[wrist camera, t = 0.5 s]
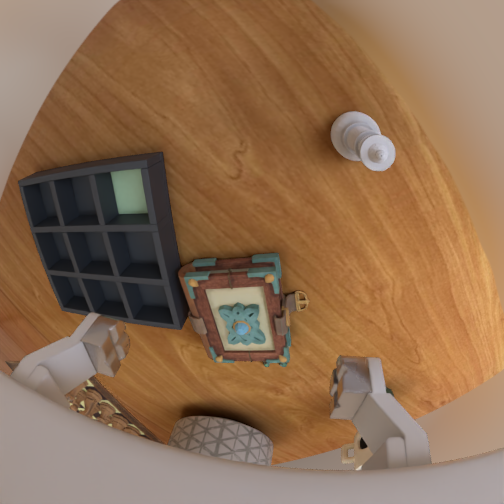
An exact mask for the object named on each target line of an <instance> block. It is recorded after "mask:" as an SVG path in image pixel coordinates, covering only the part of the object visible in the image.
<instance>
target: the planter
mask: <svg viewBox="0 0 504 504" xmlns="http://www.w3.org/2000/svg"><path fill="white" fill-rule="evenodd" d="M167 445H168V446H171V447H175V448H179V449H183V450H187V451H191V452H195V453H199V454H203V455H208V456H213V457H218V458H223V459H228V460H234V461H239V462H246V463H252V464H259V465H267V466H271V460H272V454H273V443H272V441H271V440H270V439H269V437H267V436H266V435H265V434H263V433H262V432H260V431H258V430H257V429H254V428H252V427H250V426H247V425H245V424H242V423H240V422H237V421H234V420H231V419H227V418H221V417H210V416H189V417H184V418H182V419H180V420H178V421H177V422H176V423H175V426H174V428H173V431H172V434H171V436H170V439H169V442H168V444H167Z"/></svg>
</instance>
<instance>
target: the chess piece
mask: <svg viewBox="0 0 504 504" xmlns="http://www.w3.org/2000/svg"><path fill="white" fill-rule="evenodd" d="M331 141H332V143H333V145H334V147H335V149H336V150H337V151H338V152H339V153H340V154H341V155H342V156H343V157H345V158H347V159H349V160H352V161H362V162H363V164H364V165H365V166H366V167H367V168H369V169H371V170H374V171H383V170H386V169H387V168H389V167H390V166H391V165H392V164H393V162H394V159H395V148H394V145H393V143H392V142H391V141H390V140H389V139H388V138H387V137H385V136H383V135H381V132H380V129H379V127H378V125H377V124H376V122H375V121H374V120H373V119H372V118H370V117H369V116H367V115H365V114H363V113H361V112H356V111H354V112H347V113H344V114H342V115H341V116H339V117H338V118H337V119H336V120H335V121H334V123H333V125H332V128H331Z"/></svg>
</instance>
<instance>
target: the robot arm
mask: <svg viewBox="0 0 504 504" xmlns="http://www.w3.org/2000/svg"><path fill="white" fill-rule="evenodd" d="M125 329H126V326H125V323H124V321H122V320H118V319H115V318H111V317H108V316H104V315H100V314H97V313H94V312H91V313H89V314H88V315H87V316H86V318H85V319H84V320H83V321H82V323H81V324H80V325H79V326H78V328H77V329H76V330H75V331H74V333H73V334H72V335H71V337H68V336H67V337H65V338H63V339H61V340H59V341H56V342H54V343H52V344H50V345H48V346H46V347H44V348H41V349H39V350H37V351H35V352H33V353H31V354H29V355H26V356H25V357H24V358H23V359H22V360H21V362H20V363H19V364H18V366H17V367H16V368H15V370H14V371H13V372H12V374H11V375H10V376H9V375H7V374H5V373H4V372H2V371H1V370H0V504H504V448H500V449H497V450H494V451H490V452H486V453H482V454H479V455H474V456H470V457H465V458H461V459H456V460H450V461H445V462H439V463H433V464H432V463H431V457H430V449H429V443H428V437H427V434H426V433H425V432H424V430H423V429H422V428H421V427H420V426H419V425H418V424H417V423H416V421H415V420H414V419H413V418H412V417H411V416H410V415H409V414H408V412H407V411H406V410H405V409H404V408H403V407H402V406H401V405H400V404H399V402H398V401H397V400H396V399H395V398H394V397H393V396H392V395H391V394H390V393H386V387H385V381H384V375H383V370H382V364H381V360H380V358H374V357H357V356H341V355H340V356H339V357H338V359H337V362H336V366H337V368H336V369H334V370H333V373H332V376H331V380H330V395H331V396H332V399H331V402H330V418H331V419H346V420H352V422H353V424H354V425H355V427H356V429H357V430H358V432H359V433H360V435H361V436H362V438H363V440H364V441H365V443H366V444H367V446H368V447H369V449H370V451H371V452H372V454H373V455H372V456H371V457H370V458H369V459H368V460H367V461H366V462H365V463H364V464H363V465H362V466H361V470H313V469H296V468H285V467H276V466H267V465H259V464H252V463H246V462H239V461H234V460H228V459H223V458H218V457H213V456H208V455H203V454H199V453H195V452H191V451H187V450H183V449H179V448H175V447H171V446H168V445H164V444H161V443H158V442H154V441H151V440H148V439H145V438H142V437H139V436H136V435H133V434H130V433H127V432H124V431H122V430H119V429H116V428H114V427H111V426H108V425H106V424H103V423H101V422H98V421H96V420H94V419H91V418H89V417H87V416H84V415H82V414H80V413H78V412H75V411H73V410H71V409H69V408H70V403H69V401H68V400H67V398H66V397H65V394H67V393H68V392H70V391H71V390H73V389H74V388H76V387H77V386H79V385H80V384H82V383H83V382H85V381H86V380H87V379H89V378H90V377H92V376H93V375H95V374H96V373H97V372H98V373H101V374H104V375H107V376H111V377H114V376H115V375H116V373H117V371H118V370H119V368H120V366H121V364H120V360H122V359H124V358H125V357H126V356H127V354H128V352H129V348H130V339H129V336H128V335H127V334H126V332H125V331H124V330H125Z"/></svg>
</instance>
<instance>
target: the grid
mask: <svg viewBox="0 0 504 504" xmlns="http://www.w3.org/2000/svg"><path fill="white" fill-rule="evenodd" d="M18 184H19V188H20V192H21V196H22V200H23V204H24V207H25V211H26V215H27V218H28V222H29V225H30V228H31V231H32V235H33V238H34V241H35V244H36V247H37V250H38V253H39V255H40V258H41V261H42V264H43V266H44V269H45V271H46V274H47V276H48V279H49V281H50V284H51V286H52V289H53V291H54V293H55V296H56V298H57V300H58V303H59V305H60V306H61V309H62V311H66V312H71V313H76V314H81V315H86V316H87V315H88V314H89V313H91V312H94V313H97V314H100V315H104V316H108V317H111V318H115V319H118V320H122V321H124V322H127V323H133V324H140V325H147V326H154V327H161V328H169V329H177V330H181V329H182V327H183V325H184V323H185V321H186V319H187V317H188V312H189V311H190V308H189V305H188V302H187V299H186V296H185V293H184V291H183V288H182V285H181V282H180V279H179V276H178V272H179V270H180V269H181V264H180V259H179V253H178V248H177V242H176V237H175V231H174V225H173V219H172V213H171V207H170V201H169V194H168V187H167V180H166V173H165V166H164V158H163V152H157V153H148V154H139V155H131V156H124V157H117V158H110V159H104V160H97V161H91V162H86V163H80V164H74V165H69V166H64V167H59V168H54V169H49V170H45V171H40V172H36V173H34V174H32V175H30V176H27V177H25V178H23V179H21V180H19V181H18Z"/></svg>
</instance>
